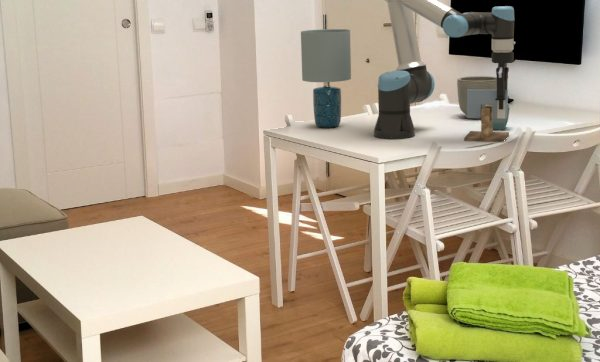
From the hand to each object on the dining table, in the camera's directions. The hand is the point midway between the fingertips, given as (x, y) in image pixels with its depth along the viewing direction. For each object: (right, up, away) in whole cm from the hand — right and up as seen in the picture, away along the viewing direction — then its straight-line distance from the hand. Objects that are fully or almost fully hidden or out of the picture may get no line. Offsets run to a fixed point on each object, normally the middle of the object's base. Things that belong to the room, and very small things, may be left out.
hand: (501, 117), depth 318 cm
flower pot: (+3, -3, +21) cm, 22 cm away
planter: (+1, +3, +48) cm, 48 cm away
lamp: (-61, -1, +39) cm, 72 cm away
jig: (-5, -7, +3) cm, 9 cm away
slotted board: (-5, 0, +2) cm, 5 cm away
